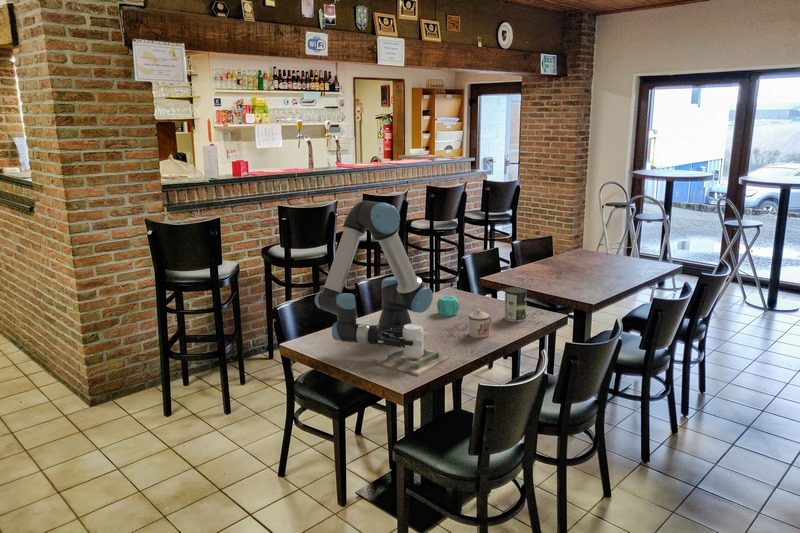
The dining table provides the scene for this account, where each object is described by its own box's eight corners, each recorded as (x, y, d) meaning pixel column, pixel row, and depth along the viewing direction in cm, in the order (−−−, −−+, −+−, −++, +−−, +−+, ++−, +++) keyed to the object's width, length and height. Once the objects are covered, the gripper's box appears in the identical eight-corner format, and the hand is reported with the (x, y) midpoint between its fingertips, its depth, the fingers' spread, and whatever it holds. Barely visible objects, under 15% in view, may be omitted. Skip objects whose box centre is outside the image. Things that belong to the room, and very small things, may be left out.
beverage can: (426, 357, 238) (426, 328, 235) (407, 360, 235) (407, 331, 232) (418, 350, 245) (418, 321, 242) (399, 353, 242) (399, 324, 239)
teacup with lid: (479, 340, 262) (479, 314, 259) (464, 334, 269) (464, 309, 266) (498, 333, 269) (498, 308, 267) (482, 328, 276) (483, 303, 273)
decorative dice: (445, 317, 293) (445, 301, 291) (436, 312, 300) (436, 297, 298) (459, 314, 296) (459, 298, 295) (450, 310, 303) (450, 294, 301)
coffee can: (525, 315, 293) (526, 287, 290) (526, 322, 283) (527, 293, 280) (503, 314, 295) (504, 286, 292) (504, 321, 285) (504, 292, 282)
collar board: (377, 363, 239) (377, 356, 238) (408, 348, 254) (408, 341, 253) (418, 375, 227) (418, 368, 226) (448, 358, 242) (448, 351, 241)
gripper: (378, 334, 254) (431, 339, 247) (360, 352, 235) (417, 358, 228) (378, 317, 252) (431, 322, 245) (360, 334, 233) (417, 339, 226)
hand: (424, 339), depth 237 cm, fingers closed on beverage can, 8 cm apart
